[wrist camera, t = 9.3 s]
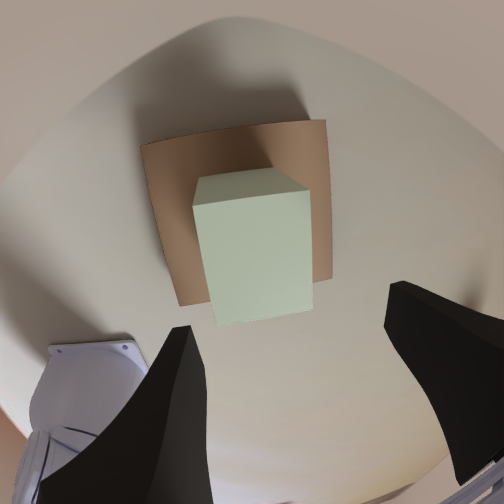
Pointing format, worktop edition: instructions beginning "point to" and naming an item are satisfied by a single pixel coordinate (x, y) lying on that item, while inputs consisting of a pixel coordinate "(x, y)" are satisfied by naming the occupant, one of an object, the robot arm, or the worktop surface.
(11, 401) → the worktop surface
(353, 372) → the worktop surface
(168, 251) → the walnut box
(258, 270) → the sage-green block
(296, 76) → the worktop surface
